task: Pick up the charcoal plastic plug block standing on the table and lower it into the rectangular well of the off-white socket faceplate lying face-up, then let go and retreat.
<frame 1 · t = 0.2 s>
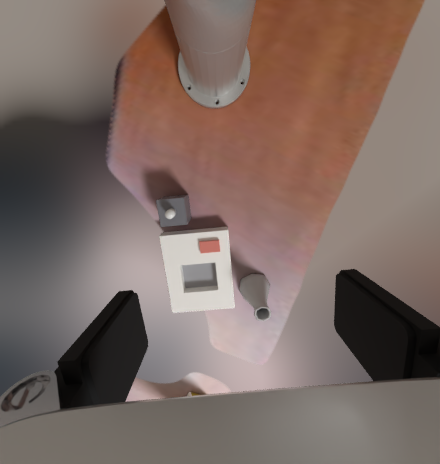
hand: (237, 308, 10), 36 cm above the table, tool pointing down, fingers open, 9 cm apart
plug: (178, 207, 45), on the table
socket plate: (200, 267, 48), on the table
flask: (254, 286, 50), on the table
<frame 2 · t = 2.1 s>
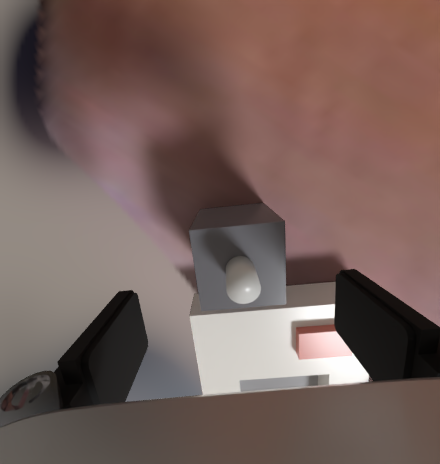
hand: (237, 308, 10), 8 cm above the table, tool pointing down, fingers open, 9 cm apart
plug: (234, 235, 18), on the table
socket plate: (275, 366, 21), on the table
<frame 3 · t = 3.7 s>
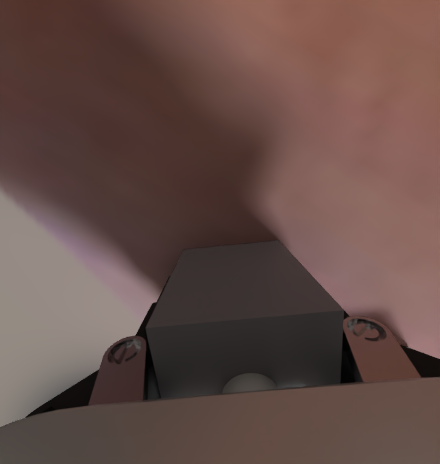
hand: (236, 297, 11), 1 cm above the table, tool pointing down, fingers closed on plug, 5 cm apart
plug: (235, 287, 12), on the table, touching gripper
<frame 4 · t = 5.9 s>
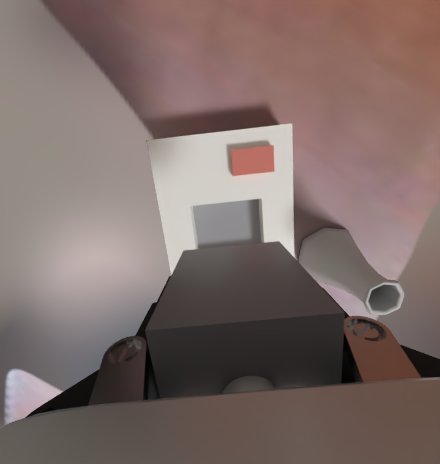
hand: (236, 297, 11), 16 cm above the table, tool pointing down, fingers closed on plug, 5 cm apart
plug: (235, 288, 12), point 15 cm above the table, touching gripper
socket plate: (226, 217, 26), on the table
flask: (325, 253, 27), on the table
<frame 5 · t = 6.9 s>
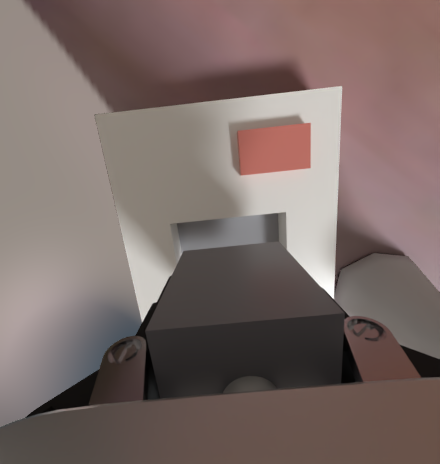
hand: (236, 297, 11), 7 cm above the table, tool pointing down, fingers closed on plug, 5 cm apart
plug: (235, 289, 12), point 6 cm above the table, touching gripper
socket plate: (228, 238, 17), on the table
flask: (371, 288, 19), on the table
when the fingers open (4 cm above the table, at t = 7.9 s): plug drops 2 cm, resting on socket plate.
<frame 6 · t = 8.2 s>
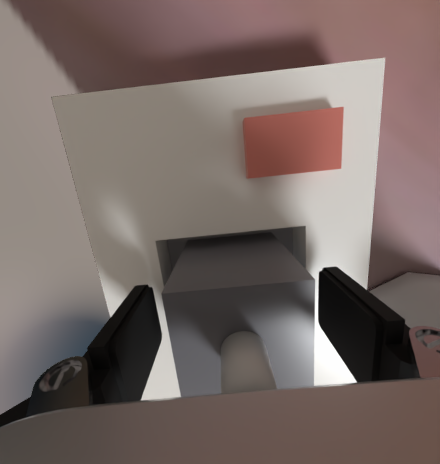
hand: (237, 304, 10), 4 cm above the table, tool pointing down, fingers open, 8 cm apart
plug: (232, 274, 13), point 1 cm above the table, touching socket plate
socket plate: (230, 254, 14), on the table
flask: (402, 314, 16), on the table
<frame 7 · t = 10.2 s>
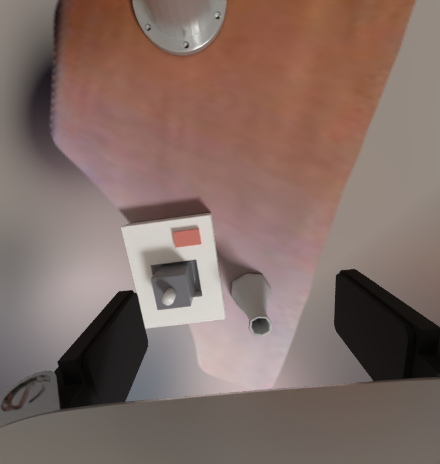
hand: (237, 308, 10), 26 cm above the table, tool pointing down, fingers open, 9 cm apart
plug: (179, 275, 37), point 1 cm above the table, touching socket plate
socket plate: (179, 268, 38), on the table
flask: (250, 290, 39), on the table
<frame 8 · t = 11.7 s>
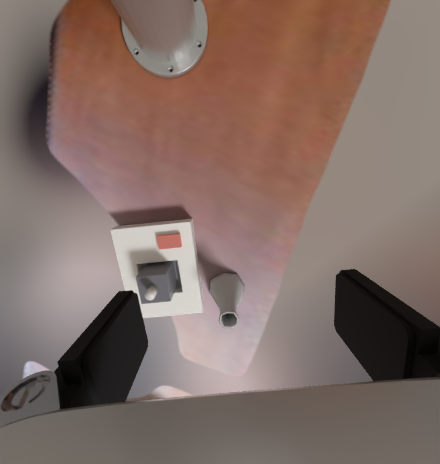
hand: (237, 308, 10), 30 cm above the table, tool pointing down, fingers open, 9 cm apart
plug: (162, 273, 41), point 1 cm above the table, touching socket plate
socket plate: (163, 266, 42), on the table
flask: (226, 287, 44), on the table
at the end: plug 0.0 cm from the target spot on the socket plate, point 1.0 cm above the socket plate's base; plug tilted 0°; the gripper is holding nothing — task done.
